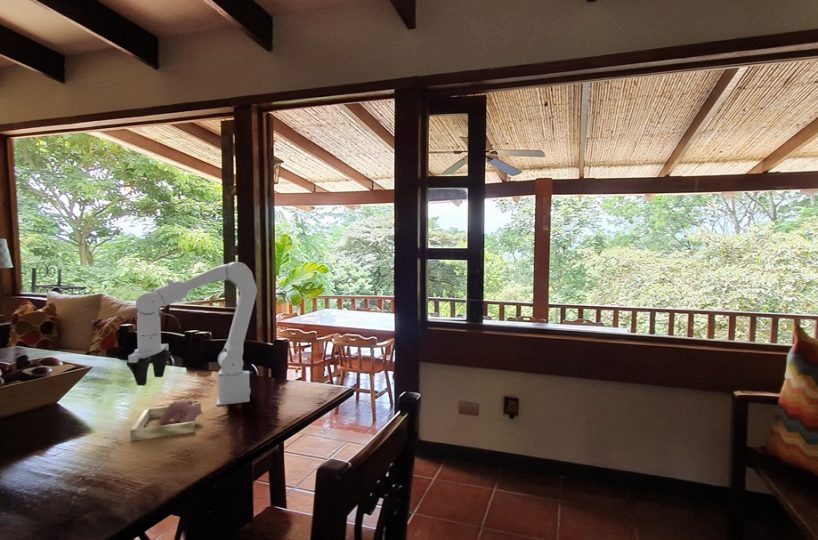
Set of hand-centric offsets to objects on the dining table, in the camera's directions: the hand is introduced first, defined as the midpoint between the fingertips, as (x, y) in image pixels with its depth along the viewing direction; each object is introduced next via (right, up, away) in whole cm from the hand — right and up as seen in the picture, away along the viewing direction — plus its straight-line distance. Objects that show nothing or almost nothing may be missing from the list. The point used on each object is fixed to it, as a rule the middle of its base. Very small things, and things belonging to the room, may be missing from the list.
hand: (150, 380), depth 117 cm
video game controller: (+12, -10, -6) cm, 17 cm away
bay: (+9, -10, -7) cm, 15 cm away
